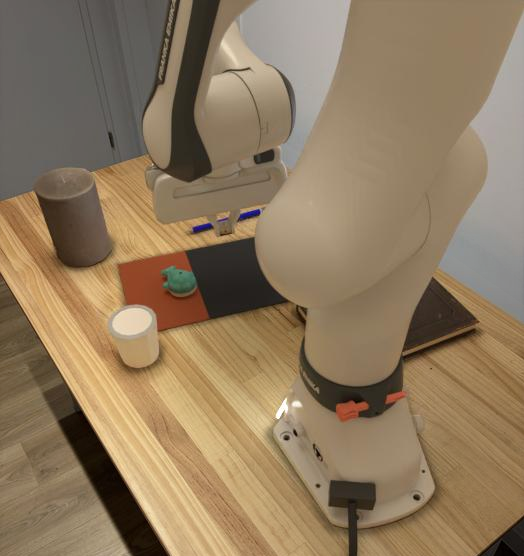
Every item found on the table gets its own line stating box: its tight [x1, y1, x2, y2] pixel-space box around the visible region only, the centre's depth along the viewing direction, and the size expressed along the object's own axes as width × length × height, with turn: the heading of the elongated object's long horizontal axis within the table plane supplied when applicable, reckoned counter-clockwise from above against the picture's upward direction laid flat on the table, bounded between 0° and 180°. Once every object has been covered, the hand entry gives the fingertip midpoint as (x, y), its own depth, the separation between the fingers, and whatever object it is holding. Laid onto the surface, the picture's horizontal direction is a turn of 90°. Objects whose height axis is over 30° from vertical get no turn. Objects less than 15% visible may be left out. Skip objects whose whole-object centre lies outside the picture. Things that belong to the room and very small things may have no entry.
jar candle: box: [107, 305, 160, 369], centre depth 80 cm, size 7×7×7 cm
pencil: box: [187, 206, 266, 233], centre depth 104 cm, size 17×1×1 cm, turn 116°
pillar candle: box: [33, 167, 112, 268], centre depth 94 cm, size 10×10×15 cm
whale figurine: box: [161, 266, 197, 297], centre depth 91 cm, size 6×7×4 cm
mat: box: [117, 236, 290, 332], centre depth 94 cm, size 18×28×1 cm, turn 108°
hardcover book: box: [295, 276, 480, 361], centre depth 86 cm, size 16×23×2 cm
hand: (224, 233), depth 86 cm, fingers closed
